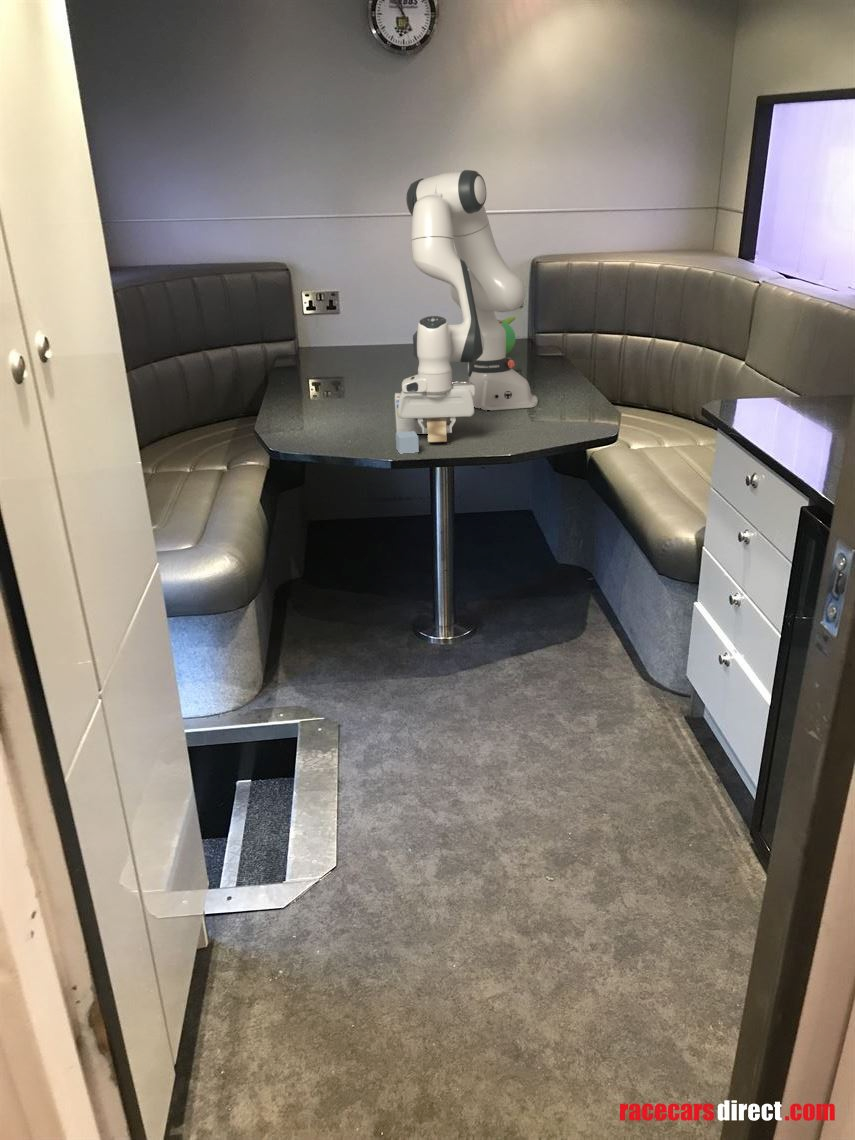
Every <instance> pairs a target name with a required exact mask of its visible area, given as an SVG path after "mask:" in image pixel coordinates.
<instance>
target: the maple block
mask: <svg viewBox="0 0 855 1140" xmlns="http://www.w3.org/2000/svg"><path fill="white" fill-rule="evenodd" d="M446 425H447V417H438V418H430V419H428V420H427V432H428V435H427V443H442V442H444V443H446V442H448V439H447V438H448V436H447V435H448V433H446Z"/></svg>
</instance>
